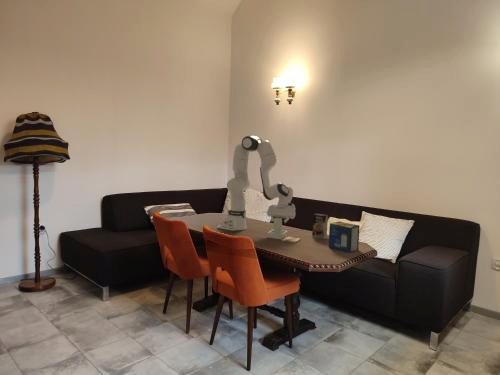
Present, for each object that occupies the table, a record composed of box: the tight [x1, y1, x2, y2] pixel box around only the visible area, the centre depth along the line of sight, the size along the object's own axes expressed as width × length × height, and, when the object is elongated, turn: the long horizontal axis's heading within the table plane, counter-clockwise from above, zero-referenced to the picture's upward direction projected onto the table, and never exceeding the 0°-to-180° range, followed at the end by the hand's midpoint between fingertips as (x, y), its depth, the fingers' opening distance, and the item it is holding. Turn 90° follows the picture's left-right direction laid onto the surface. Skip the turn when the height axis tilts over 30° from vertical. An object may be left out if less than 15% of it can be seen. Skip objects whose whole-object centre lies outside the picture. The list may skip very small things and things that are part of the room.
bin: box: [266, 228, 289, 240], centre depth 254 cm, size 11×12×4 cm
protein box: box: [328, 221, 361, 253], centre depth 227 cm, size 10×15×16 cm
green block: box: [273, 217, 283, 234], centre depth 254 cm, size 4×4×13 cm
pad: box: [281, 236, 301, 244], centre depth 245 cm, size 10×10×1 cm
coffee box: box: [311, 213, 329, 239], centre depth 256 cm, size 9×6×16 cm
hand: (278, 221), depth 254 cm, fingers open, 8 cm apart
